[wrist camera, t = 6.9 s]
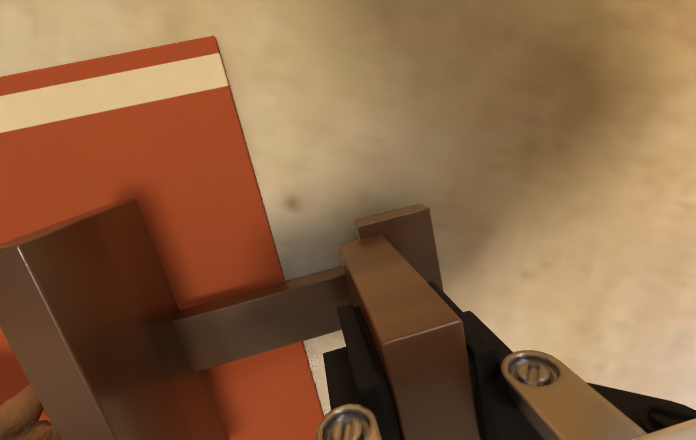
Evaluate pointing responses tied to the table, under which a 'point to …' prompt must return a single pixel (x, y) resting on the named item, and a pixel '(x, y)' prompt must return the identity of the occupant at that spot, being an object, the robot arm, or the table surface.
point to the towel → (157, 201)
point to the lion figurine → (25, 418)
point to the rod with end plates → (218, 327)
